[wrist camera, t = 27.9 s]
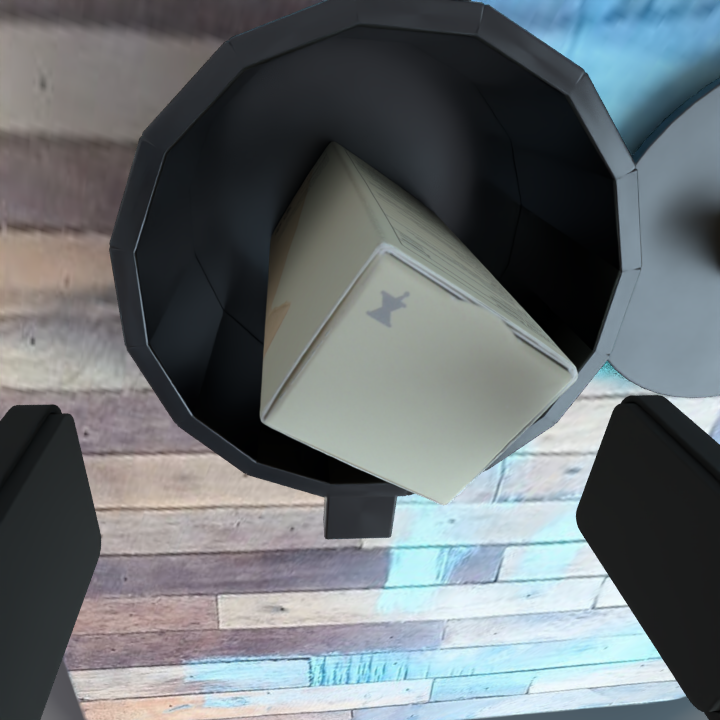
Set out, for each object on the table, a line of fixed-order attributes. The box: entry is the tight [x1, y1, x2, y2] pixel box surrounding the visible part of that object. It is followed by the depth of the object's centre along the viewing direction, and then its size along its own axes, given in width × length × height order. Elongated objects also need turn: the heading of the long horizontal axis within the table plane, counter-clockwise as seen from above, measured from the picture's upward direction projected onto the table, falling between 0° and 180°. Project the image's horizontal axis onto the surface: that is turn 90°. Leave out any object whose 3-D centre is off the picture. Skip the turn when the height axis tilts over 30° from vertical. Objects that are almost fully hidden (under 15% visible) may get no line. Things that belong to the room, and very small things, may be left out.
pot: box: [109, 0, 642, 539], centre depth 17 cm, size 13×19×8 cm
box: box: [260, 142, 578, 505], centre depth 15 cm, size 5×4×11 cm
